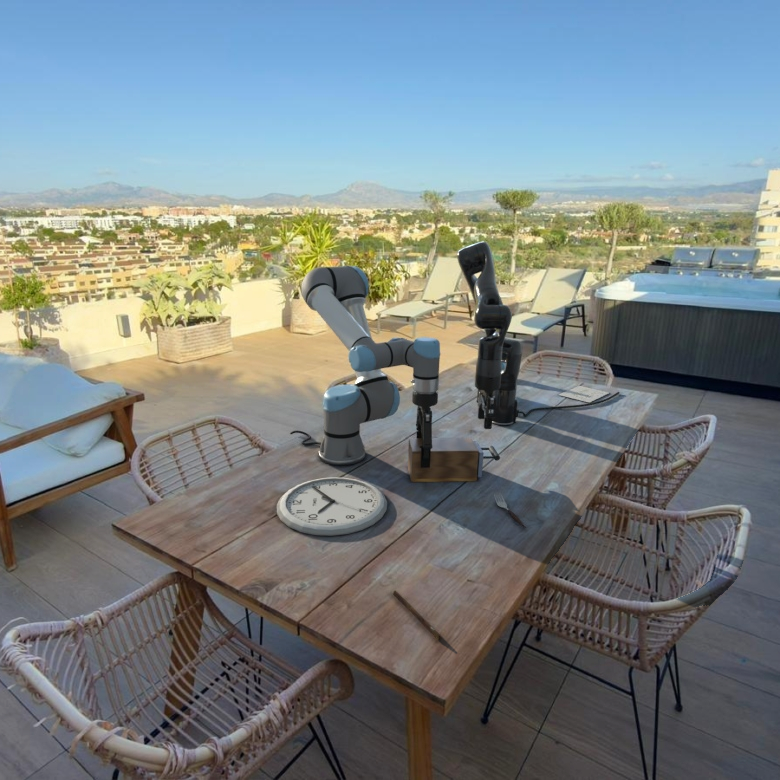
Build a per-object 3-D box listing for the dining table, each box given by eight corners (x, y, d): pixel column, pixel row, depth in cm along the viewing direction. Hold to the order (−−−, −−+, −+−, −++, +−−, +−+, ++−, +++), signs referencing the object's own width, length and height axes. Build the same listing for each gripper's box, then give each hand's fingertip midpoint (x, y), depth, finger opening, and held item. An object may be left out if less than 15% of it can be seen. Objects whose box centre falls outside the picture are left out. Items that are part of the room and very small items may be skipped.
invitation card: (579, 385, 255) (609, 392, 245) (579, 386, 255) (609, 393, 245) (558, 394, 241) (589, 402, 231) (558, 395, 241) (589, 402, 231)
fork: (520, 530, 132) (521, 523, 132) (492, 499, 147) (492, 493, 146) (529, 529, 133) (530, 522, 132) (500, 498, 147) (501, 492, 147)
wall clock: (392, 527, 129) (268, 531, 127) (391, 533, 130) (269, 537, 127) (383, 473, 158) (282, 475, 155) (383, 478, 158) (282, 480, 156)
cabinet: (469, 466, 168) (471, 437, 165) (476, 481, 158) (478, 450, 155) (407, 466, 166) (408, 438, 163) (411, 481, 157) (412, 451, 154)
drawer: (491, 464, 167) (493, 440, 165) (499, 477, 159) (501, 452, 156) (417, 465, 166) (417, 441, 163) (420, 478, 157) (421, 453, 155)
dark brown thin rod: (392, 594, 108) (393, 590, 108) (394, 593, 109) (394, 589, 108) (438, 640, 96) (438, 636, 96) (440, 639, 97) (440, 635, 96)
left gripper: (408, 379, 165) (406, 443, 171) (417, 403, 142) (414, 476, 149) (432, 379, 165) (429, 443, 172) (444, 403, 143) (440, 475, 149)
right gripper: (471, 366, 161) (467, 415, 166) (481, 378, 148) (477, 432, 152) (495, 366, 162) (491, 415, 166) (507, 379, 148) (502, 432, 153)
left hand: (422, 458), depth 160 cm, fingers open, 11 cm apart
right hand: (484, 423), depth 159 cm, fingers open, 8 cm apart
